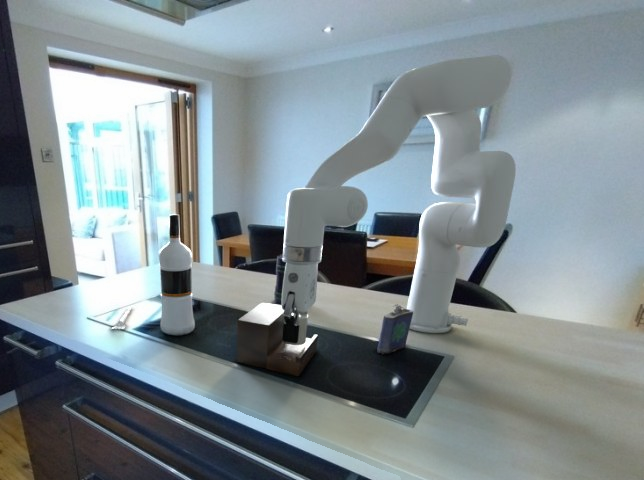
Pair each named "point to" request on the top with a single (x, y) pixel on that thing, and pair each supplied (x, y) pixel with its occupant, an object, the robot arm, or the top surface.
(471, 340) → the top surface
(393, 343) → the flask
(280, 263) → the storage jar
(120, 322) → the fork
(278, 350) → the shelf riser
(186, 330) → the vodka
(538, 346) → the top surface
